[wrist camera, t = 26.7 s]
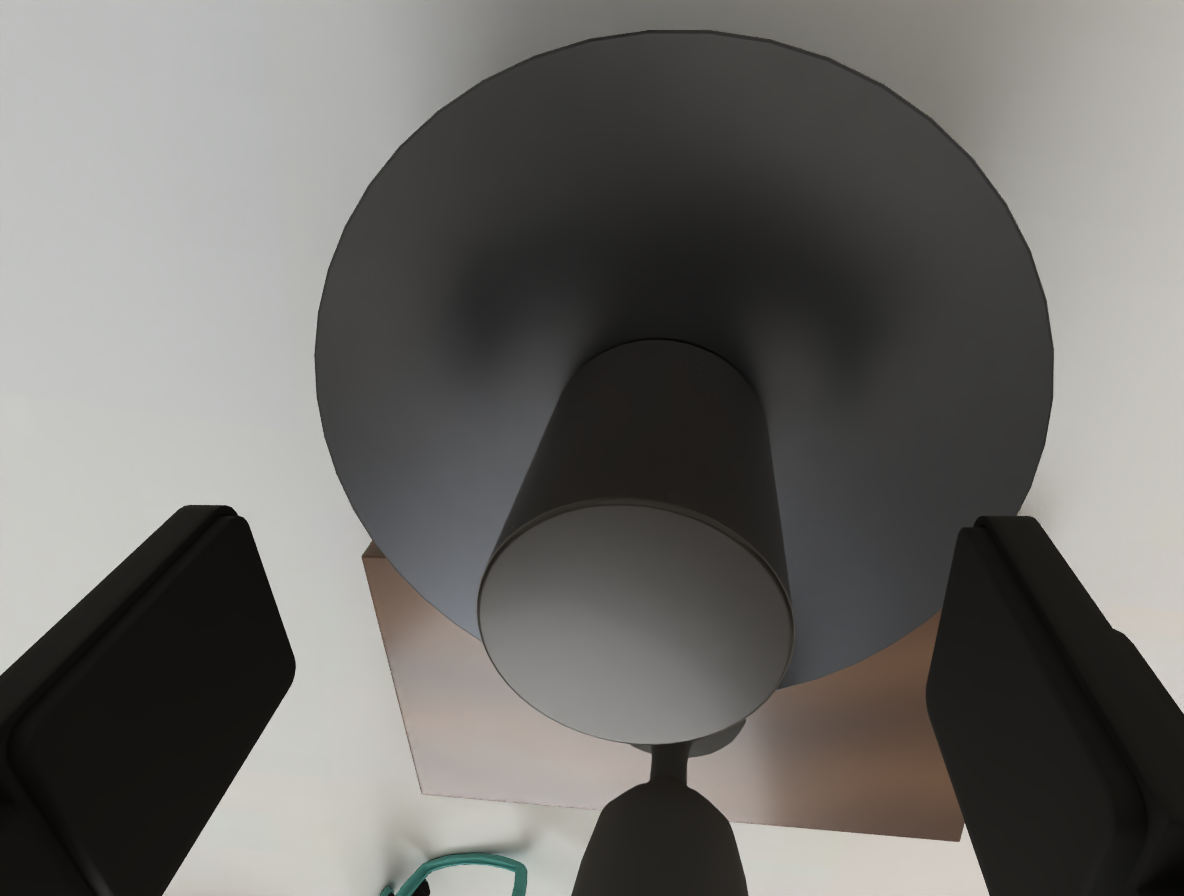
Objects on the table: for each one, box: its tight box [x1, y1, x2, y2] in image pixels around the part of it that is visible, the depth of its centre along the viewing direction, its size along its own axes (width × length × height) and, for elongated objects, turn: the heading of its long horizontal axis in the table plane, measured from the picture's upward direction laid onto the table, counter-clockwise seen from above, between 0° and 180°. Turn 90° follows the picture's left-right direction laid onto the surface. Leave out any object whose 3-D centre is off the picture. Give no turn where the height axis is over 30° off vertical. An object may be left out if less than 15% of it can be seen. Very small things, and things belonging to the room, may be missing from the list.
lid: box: [314, 30, 1054, 745], centre depth 13 cm, size 14×14×7 cm
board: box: [362, 540, 965, 842], centre depth 26 cm, size 12×20×2 cm, turn 93°
